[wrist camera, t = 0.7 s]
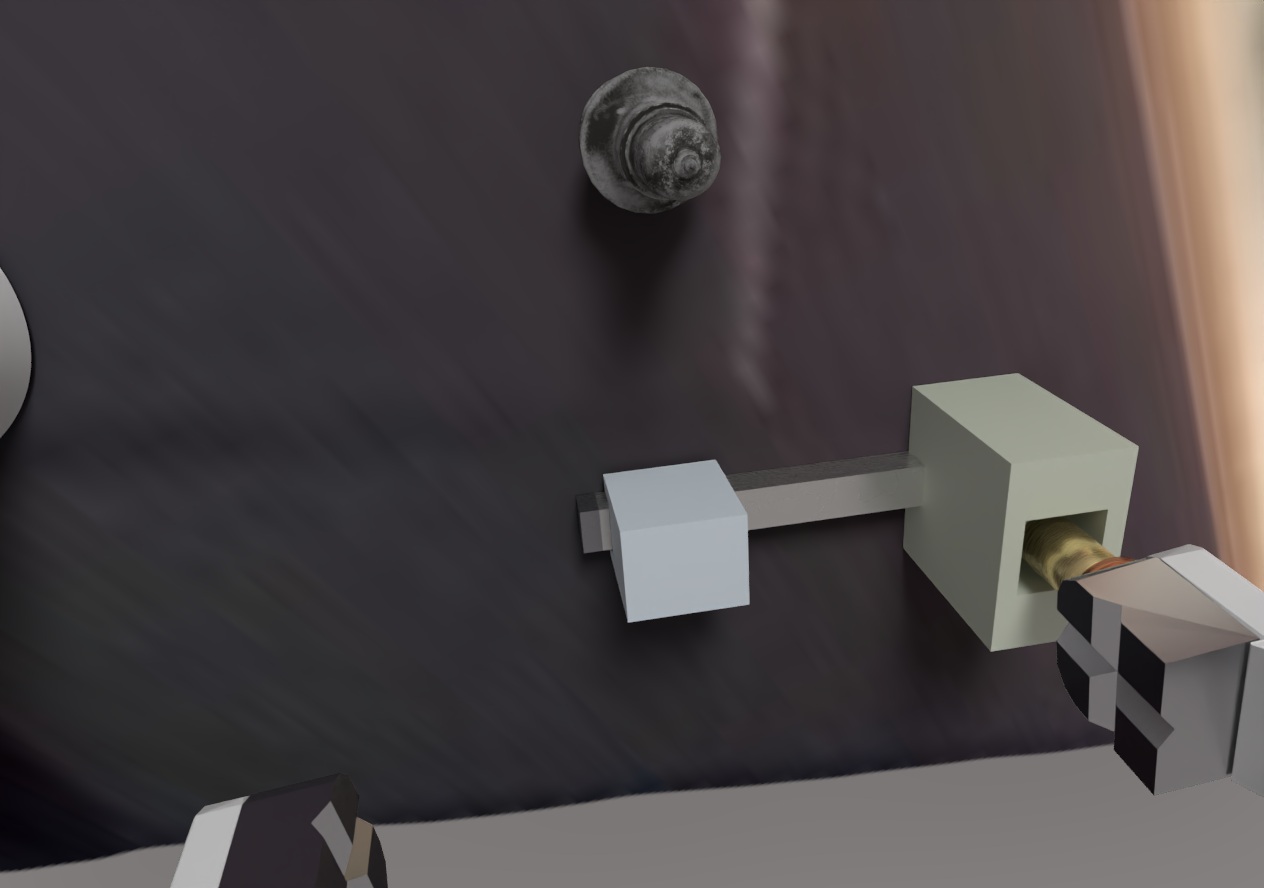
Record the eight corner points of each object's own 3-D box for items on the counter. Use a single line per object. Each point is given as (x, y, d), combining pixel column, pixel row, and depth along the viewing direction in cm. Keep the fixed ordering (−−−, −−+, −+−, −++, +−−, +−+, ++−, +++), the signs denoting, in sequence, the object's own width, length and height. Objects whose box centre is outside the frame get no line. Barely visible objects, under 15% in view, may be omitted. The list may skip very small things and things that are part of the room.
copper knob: (1005, 576, 44) (1074, 645, 39) (1012, 510, 42) (1085, 573, 37) (1075, 565, 44) (1152, 632, 39) (1085, 499, 43) (1166, 560, 38)
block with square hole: (902, 553, 53) (990, 658, 44) (912, 386, 49) (1011, 463, 40) (999, 539, 54) (1105, 639, 45) (1017, 373, 49) (1138, 446, 40)
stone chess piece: (714, 177, 43) (794, 221, 32) (595, 218, 43) (636, 277, 32) (679, 46, 40) (753, 46, 29) (553, 90, 40) (582, 106, 29)
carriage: (610, 556, 50) (628, 622, 44) (602, 473, 47) (619, 532, 42) (718, 540, 50) (749, 604, 44) (715, 458, 48) (747, 514, 42)
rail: (580, 534, 49) (583, 553, 47) (575, 495, 48) (579, 512, 46) (906, 489, 51) (922, 505, 50) (908, 450, 50) (924, 465, 49)
